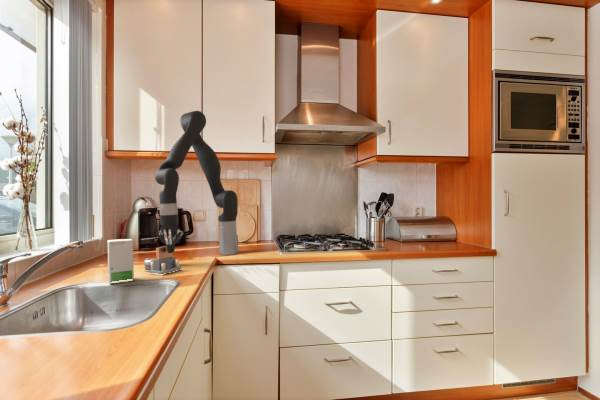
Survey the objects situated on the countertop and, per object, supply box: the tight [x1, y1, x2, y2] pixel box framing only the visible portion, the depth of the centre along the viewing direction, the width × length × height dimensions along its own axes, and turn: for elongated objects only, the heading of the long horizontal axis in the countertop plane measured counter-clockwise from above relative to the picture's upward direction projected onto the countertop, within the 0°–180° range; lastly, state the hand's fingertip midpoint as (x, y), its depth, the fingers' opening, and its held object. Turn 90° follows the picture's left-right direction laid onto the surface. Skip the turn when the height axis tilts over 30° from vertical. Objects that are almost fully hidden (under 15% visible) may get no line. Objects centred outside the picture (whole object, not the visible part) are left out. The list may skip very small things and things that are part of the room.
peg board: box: [148, 259, 182, 274], centre depth 141 cm, size 10×8×4 cm
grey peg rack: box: [143, 245, 174, 267], centre depth 150 cm, size 14×6×7 cm, turn 156°
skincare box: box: [106, 238, 135, 283], centre depth 128 cm, size 8×7×16 cm
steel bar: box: [153, 256, 177, 271], centre depth 141 cm, size 8×4×4 cm, turn 151°
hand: (171, 252), depth 153 cm, fingers closed
